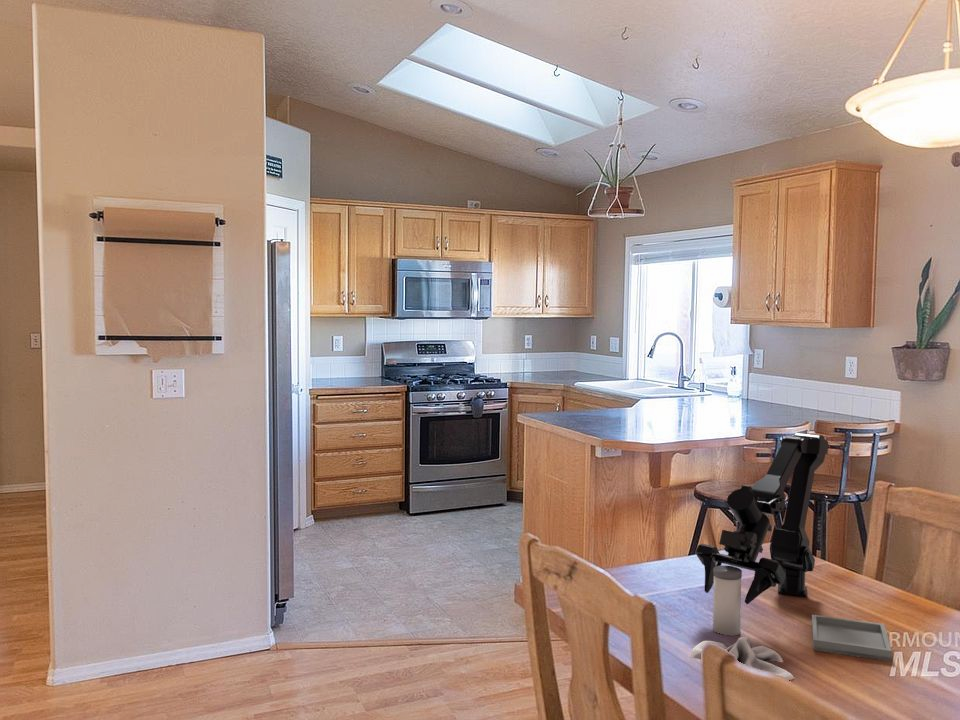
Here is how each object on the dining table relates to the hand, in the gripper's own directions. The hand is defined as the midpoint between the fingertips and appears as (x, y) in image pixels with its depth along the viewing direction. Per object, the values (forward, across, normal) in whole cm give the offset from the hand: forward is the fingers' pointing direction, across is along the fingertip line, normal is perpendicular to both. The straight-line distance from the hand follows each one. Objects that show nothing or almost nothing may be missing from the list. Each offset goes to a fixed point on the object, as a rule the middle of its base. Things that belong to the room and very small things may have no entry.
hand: (725, 597), depth 165 cm
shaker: (+5, 0, +6) cm, 7 cm away
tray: (-4, +21, +14) cm, 26 cm away
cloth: (+15, +10, -4) cm, 19 cm away
